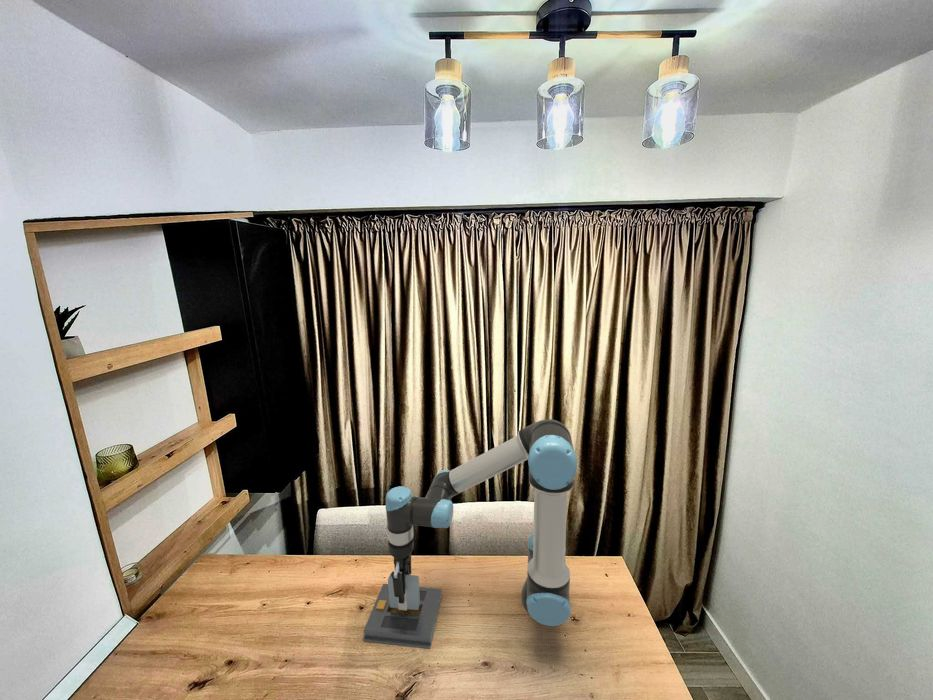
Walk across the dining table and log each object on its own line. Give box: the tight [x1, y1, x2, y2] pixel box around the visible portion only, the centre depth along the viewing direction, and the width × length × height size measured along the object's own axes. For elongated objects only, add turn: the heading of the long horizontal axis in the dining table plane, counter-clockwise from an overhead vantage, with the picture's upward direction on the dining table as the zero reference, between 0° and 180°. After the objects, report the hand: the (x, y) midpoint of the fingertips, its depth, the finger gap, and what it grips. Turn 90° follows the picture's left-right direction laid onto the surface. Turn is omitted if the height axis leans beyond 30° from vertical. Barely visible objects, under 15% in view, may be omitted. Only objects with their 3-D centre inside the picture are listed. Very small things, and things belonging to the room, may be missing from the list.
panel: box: [387, 572, 420, 610], centre depth 114 cm, size 9×2×10 cm, turn 83°
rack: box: [363, 583, 443, 650], centre depth 115 cm, size 20×18×4 cm
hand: (404, 604), depth 114 cm, fingers closed on panel, 2 cm apart
